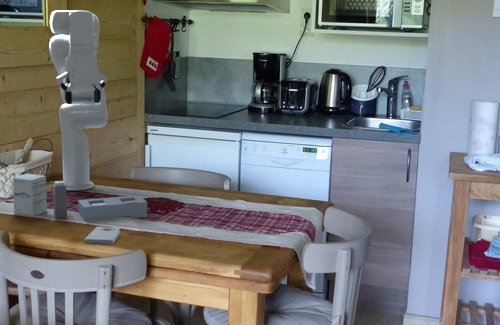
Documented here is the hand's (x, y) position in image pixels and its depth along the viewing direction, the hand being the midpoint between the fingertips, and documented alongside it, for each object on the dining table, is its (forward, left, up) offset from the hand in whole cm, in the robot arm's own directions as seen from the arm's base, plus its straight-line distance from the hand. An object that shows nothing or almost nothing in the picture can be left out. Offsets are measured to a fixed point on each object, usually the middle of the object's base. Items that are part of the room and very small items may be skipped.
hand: (83, 103), depth 217 cm
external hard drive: (+35, -1, -35) cm, 50 cm away
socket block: (+16, +6, -35) cm, 38 cm away
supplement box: (+6, -18, -35) cm, 40 cm away
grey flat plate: (+14, -10, -35) cm, 39 cm away
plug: (+14, -10, -34) cm, 38 cm away
